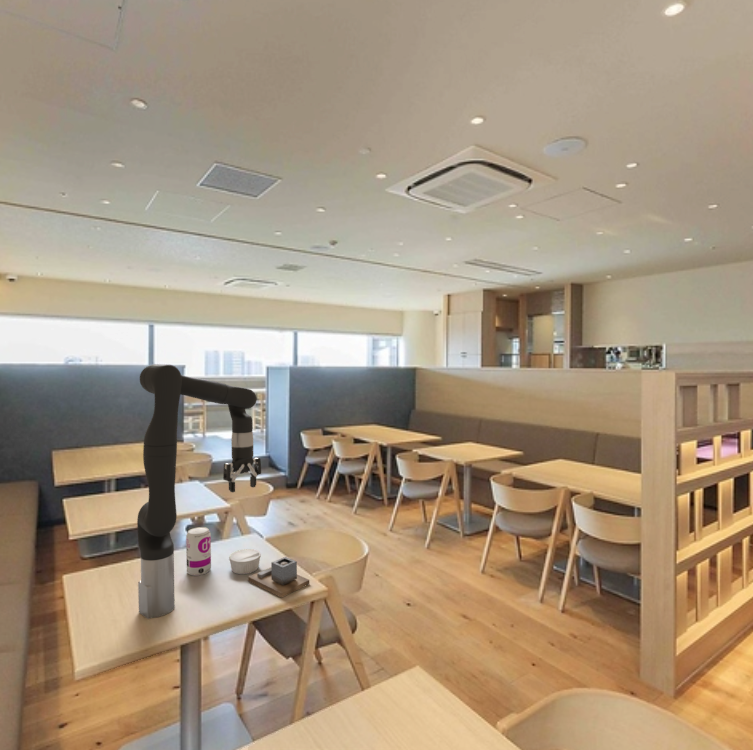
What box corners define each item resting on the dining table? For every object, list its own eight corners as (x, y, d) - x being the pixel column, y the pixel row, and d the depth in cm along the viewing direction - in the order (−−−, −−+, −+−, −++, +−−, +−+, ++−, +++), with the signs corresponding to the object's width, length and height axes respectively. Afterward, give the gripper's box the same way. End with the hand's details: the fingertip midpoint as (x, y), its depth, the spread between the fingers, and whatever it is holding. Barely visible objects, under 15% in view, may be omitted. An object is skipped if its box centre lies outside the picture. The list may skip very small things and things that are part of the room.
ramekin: (253, 577, 168) (253, 562, 168) (223, 574, 170) (223, 560, 170) (265, 563, 179) (265, 549, 179) (237, 561, 181) (237, 547, 181)
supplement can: (215, 569, 174) (215, 529, 173) (196, 578, 167) (195, 536, 166) (201, 564, 178) (200, 524, 178) (181, 572, 171) (181, 531, 171)
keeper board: (281, 597, 154) (281, 574, 153) (248, 580, 165) (248, 559, 165) (309, 584, 163) (309, 562, 163) (276, 569, 174) (275, 548, 174)
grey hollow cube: (282, 585, 158) (282, 567, 158) (271, 579, 162) (271, 562, 161) (296, 578, 162) (296, 561, 162) (285, 573, 166) (285, 556, 166)
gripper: (231, 448, 162) (231, 495, 163) (265, 442, 173) (265, 487, 174) (218, 446, 167) (219, 491, 168) (252, 440, 178) (253, 483, 179)
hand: (242, 489), depth 171 cm, fingers open, 8 cm apart
